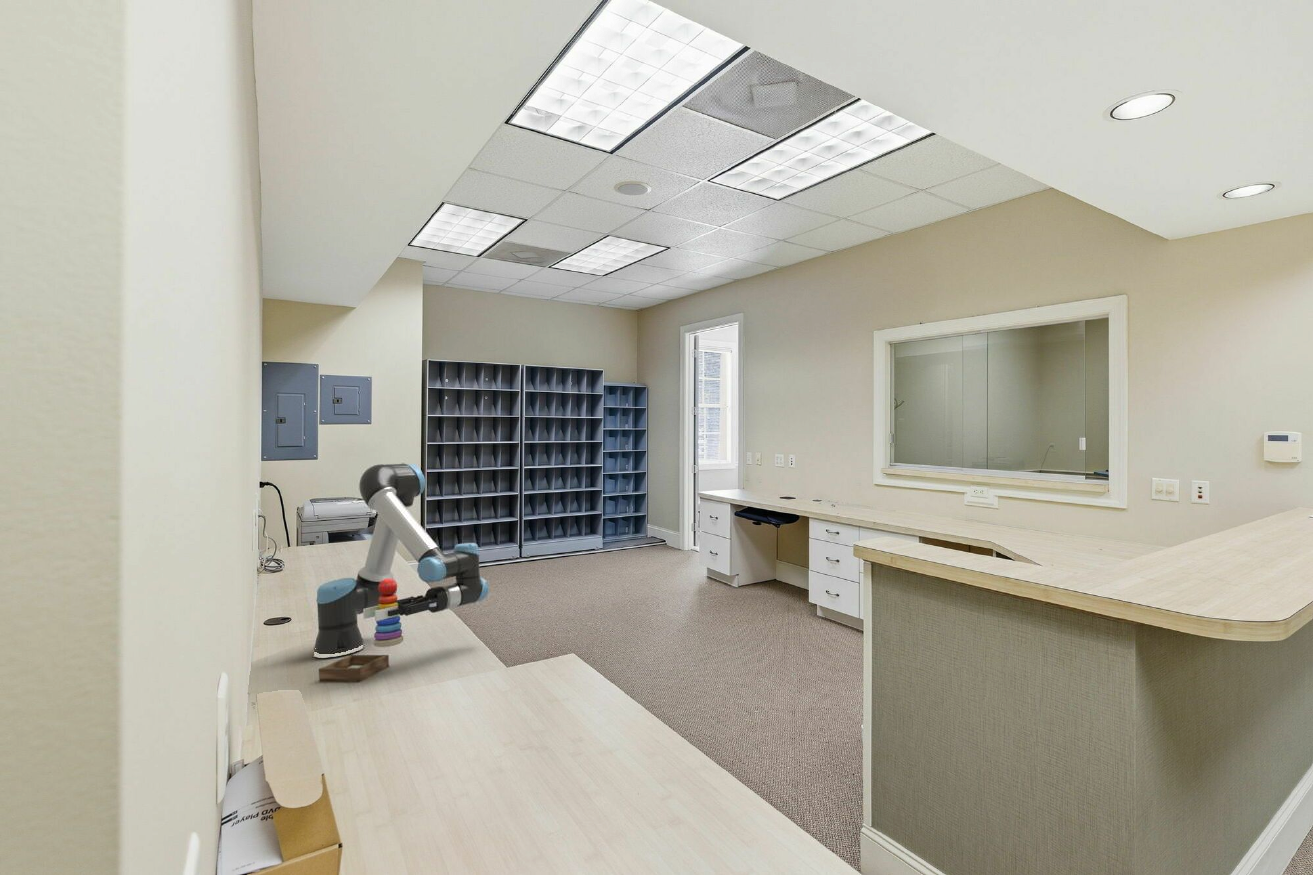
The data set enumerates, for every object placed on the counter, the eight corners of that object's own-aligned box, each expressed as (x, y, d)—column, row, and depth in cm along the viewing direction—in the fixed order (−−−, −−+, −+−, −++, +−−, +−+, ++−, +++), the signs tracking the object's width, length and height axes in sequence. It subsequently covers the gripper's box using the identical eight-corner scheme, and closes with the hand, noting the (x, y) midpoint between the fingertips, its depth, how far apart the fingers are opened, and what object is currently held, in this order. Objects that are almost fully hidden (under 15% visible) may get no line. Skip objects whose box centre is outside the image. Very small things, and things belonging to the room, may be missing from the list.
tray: (351, 666, 189) (351, 654, 189) (389, 666, 186) (388, 654, 186) (319, 681, 176) (318, 668, 176) (358, 682, 173) (357, 669, 173)
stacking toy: (392, 648, 175) (389, 581, 176) (367, 648, 177) (364, 581, 178) (409, 639, 183) (406, 575, 184) (384, 640, 185) (382, 576, 186)
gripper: (460, 613, 189) (387, 632, 170) (426, 607, 200) (354, 624, 182) (459, 588, 189) (386, 604, 171) (424, 584, 201) (353, 598, 182)
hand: (369, 614), depth 176 cm, fingers closed on stacking toy, 6 cm apart
